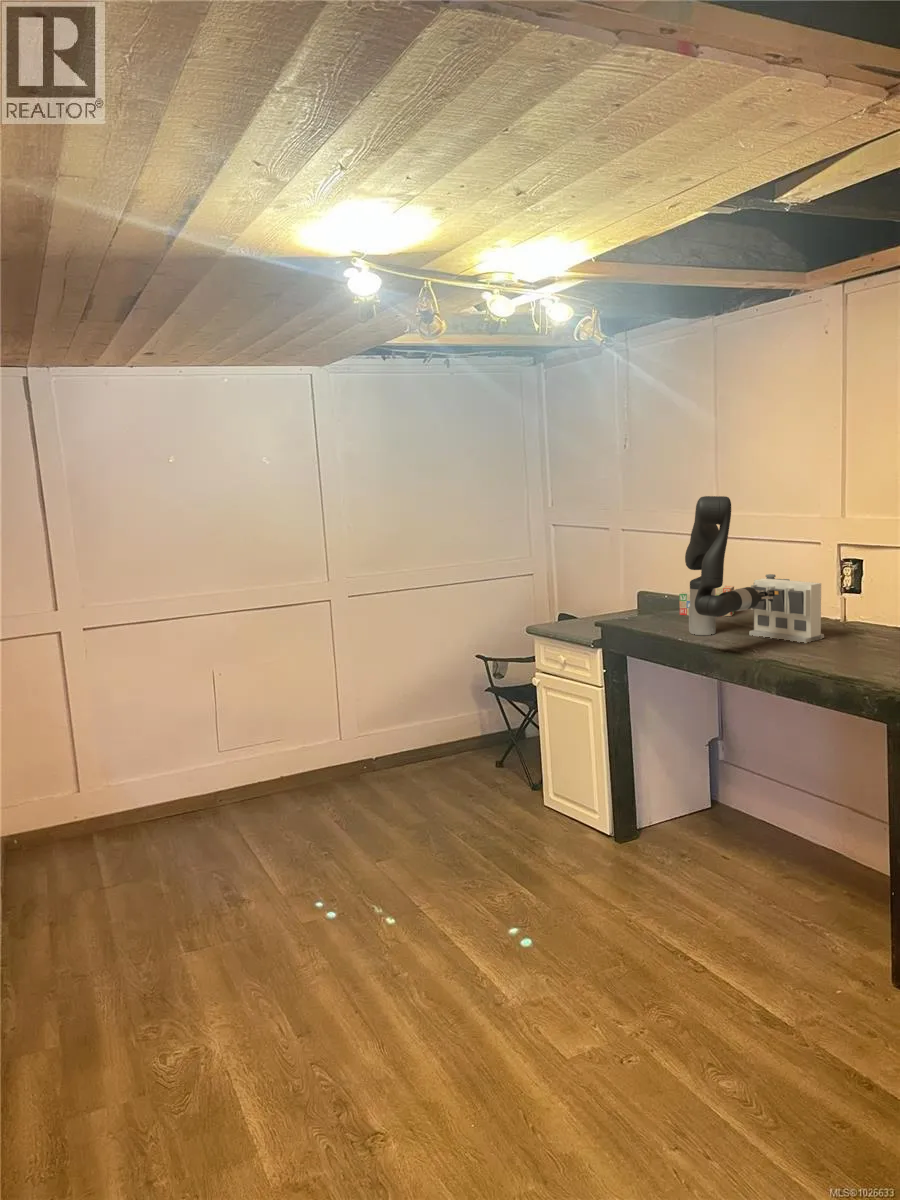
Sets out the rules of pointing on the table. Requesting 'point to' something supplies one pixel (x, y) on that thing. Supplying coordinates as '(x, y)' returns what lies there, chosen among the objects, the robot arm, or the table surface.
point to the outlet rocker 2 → (796, 601)
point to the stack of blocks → (685, 599)
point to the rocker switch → (762, 604)
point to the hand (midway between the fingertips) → (772, 592)
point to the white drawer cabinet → (787, 622)
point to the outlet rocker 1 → (778, 600)
